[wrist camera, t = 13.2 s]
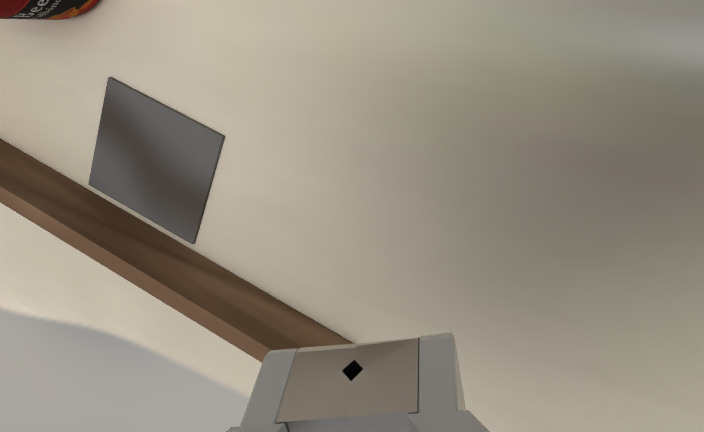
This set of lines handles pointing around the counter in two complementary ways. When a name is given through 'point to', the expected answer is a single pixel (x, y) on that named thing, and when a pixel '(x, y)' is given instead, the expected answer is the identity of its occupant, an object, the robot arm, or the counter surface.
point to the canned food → (44, 8)
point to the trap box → (155, 220)
